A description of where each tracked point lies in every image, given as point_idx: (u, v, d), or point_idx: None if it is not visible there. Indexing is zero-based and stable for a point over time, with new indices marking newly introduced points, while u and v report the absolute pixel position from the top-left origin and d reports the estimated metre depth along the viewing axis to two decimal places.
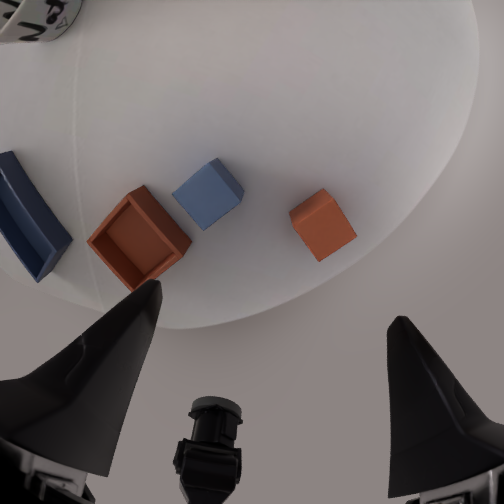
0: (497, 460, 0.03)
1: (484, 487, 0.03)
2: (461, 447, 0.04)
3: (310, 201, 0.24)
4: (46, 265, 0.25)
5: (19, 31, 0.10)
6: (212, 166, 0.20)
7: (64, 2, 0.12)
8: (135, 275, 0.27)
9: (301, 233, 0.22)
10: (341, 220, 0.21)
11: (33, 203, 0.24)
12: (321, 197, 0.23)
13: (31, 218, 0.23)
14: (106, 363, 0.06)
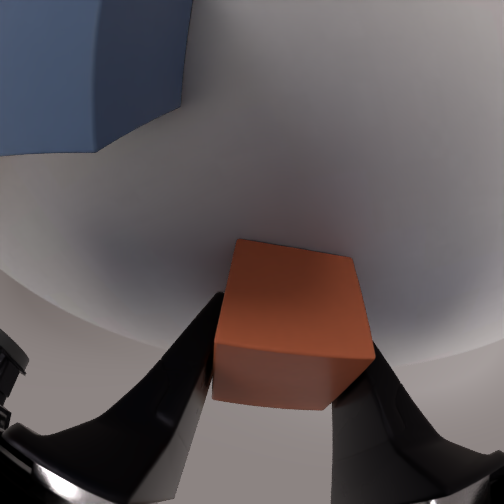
0: (432, 492, 0.03)
1: (484, 487, 0.03)
2: (395, 467, 0.04)
3: (308, 272, 0.08)
4: None
5: None
6: None
7: None
8: None
9: (222, 361, 0.06)
10: (334, 389, 0.07)
11: None
12: (342, 297, 0.07)
13: None
14: (196, 387, 0.06)
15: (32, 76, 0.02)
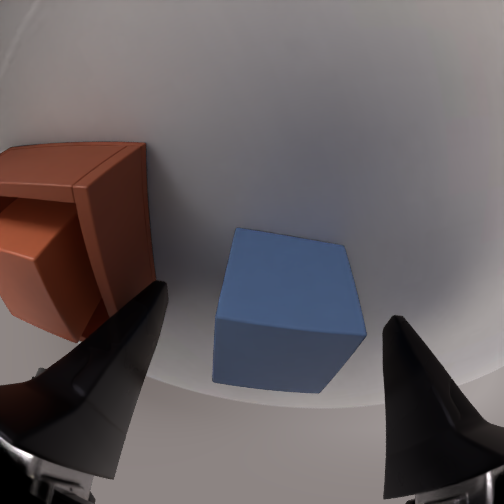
0: (493, 463, 0.03)
1: (484, 487, 0.03)
2: (457, 449, 0.04)
3: (50, 201, 0.08)
4: None
5: None
6: None
7: None
8: None
9: None
10: (46, 303, 0.07)
11: None
12: (55, 217, 0.07)
13: None
14: (114, 365, 0.06)
15: (295, 376, 0.08)
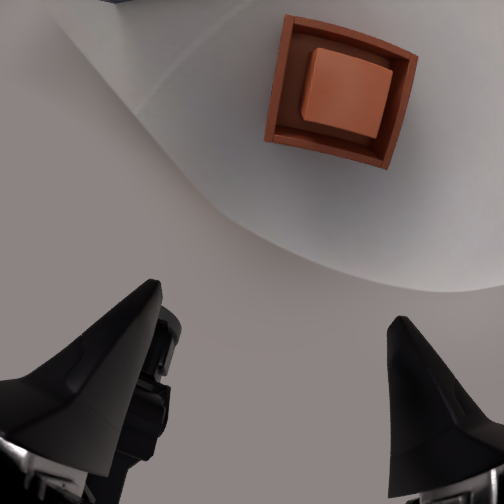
0: (497, 460, 0.03)
1: (484, 487, 0.03)
2: (461, 448, 0.04)
3: None
4: None
5: None
6: None
7: None
8: None
9: (319, 64, 0.10)
10: (378, 100, 0.11)
11: None
12: None
13: None
14: (106, 363, 0.06)
15: None
